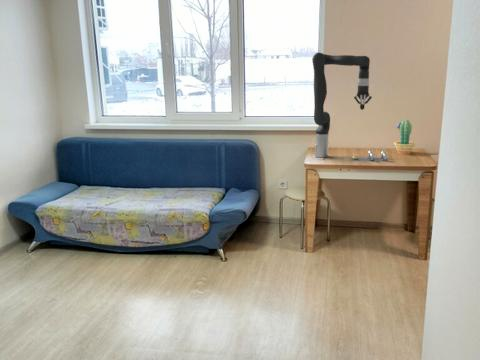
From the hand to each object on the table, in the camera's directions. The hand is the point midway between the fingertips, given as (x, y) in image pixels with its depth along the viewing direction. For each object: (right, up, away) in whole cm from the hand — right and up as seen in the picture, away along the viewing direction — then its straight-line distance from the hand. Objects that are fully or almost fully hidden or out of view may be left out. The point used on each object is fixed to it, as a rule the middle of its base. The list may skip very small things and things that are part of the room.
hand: (362, 109), depth 319 cm
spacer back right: (+16, -35, +2) cm, 38 cm away
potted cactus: (+37, -31, +18) cm, 51 cm away
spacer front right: (+15, -37, -6) cm, 40 cm away
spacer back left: (+7, -35, +4) cm, 36 cm away
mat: (+4, -36, 0) cm, 36 cm away
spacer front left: (+6, -37, -4) cm, 38 cm away
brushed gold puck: (-5, -36, +1) cm, 36 cm away
